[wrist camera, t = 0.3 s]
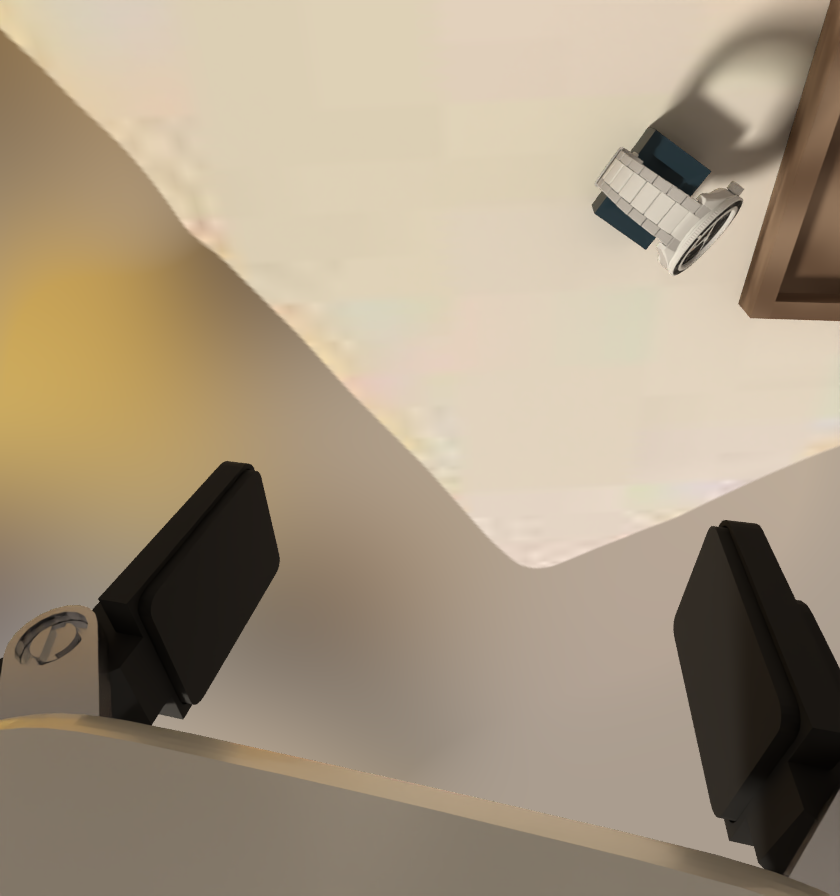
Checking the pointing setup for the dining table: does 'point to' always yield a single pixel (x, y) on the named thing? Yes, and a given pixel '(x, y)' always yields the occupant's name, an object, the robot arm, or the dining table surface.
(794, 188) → the tray
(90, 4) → the dining table surface
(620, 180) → the watch
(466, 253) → the dining table surface
